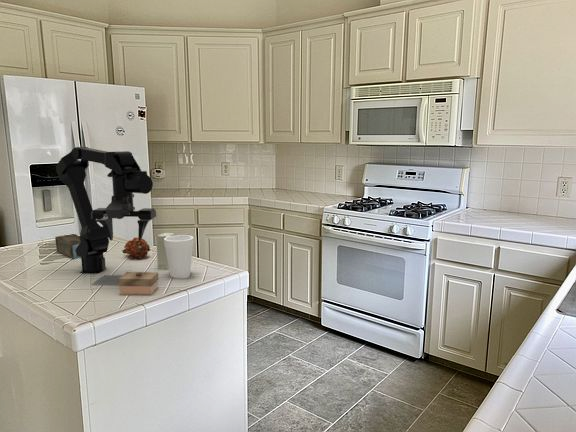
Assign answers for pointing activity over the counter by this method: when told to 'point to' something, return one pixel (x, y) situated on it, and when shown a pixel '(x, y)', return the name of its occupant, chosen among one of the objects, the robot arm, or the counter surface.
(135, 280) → the lid
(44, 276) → the counter surface
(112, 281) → the mat
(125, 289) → the dish
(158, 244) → the skincare box
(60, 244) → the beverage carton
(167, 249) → the foam cup
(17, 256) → the counter surface
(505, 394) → the counter surface
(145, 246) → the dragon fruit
